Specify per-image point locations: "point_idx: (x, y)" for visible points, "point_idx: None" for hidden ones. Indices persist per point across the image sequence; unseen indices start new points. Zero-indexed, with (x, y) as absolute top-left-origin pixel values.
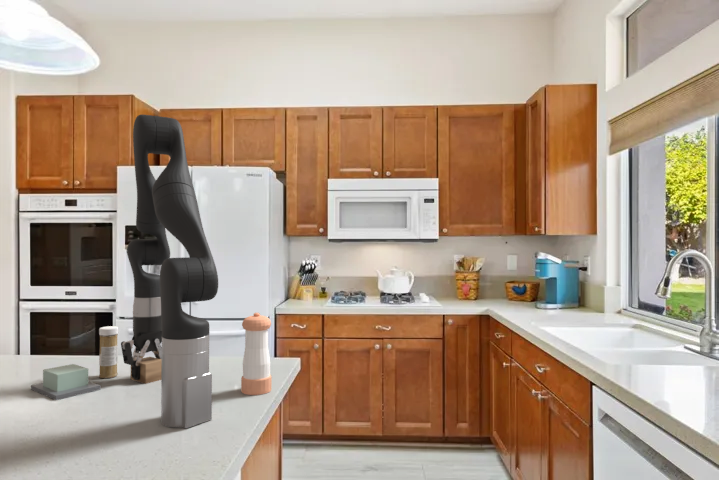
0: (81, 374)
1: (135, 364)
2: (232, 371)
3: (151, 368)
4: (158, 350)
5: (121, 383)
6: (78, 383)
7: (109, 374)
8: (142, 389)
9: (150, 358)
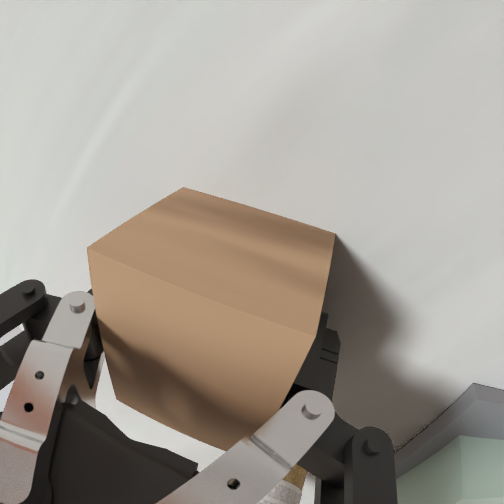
0: (482, 481)
1: (334, 413)
2: (2, 9)
3: (258, 275)
4: (58, 378)
5: (364, 367)
6: (488, 450)
7: None
8: (463, 160)
9: (136, 385)
